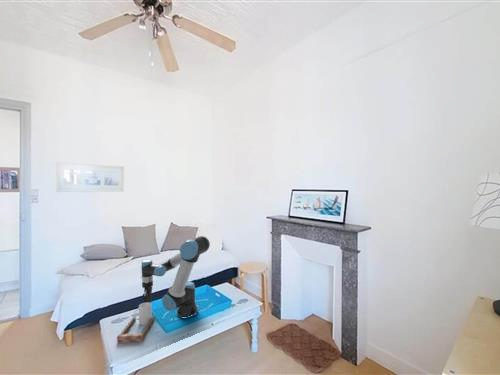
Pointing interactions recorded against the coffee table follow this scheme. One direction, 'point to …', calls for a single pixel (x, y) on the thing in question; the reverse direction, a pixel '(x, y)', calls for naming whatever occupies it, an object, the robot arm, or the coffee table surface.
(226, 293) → the coffee table surface
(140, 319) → the mug
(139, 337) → the guide
